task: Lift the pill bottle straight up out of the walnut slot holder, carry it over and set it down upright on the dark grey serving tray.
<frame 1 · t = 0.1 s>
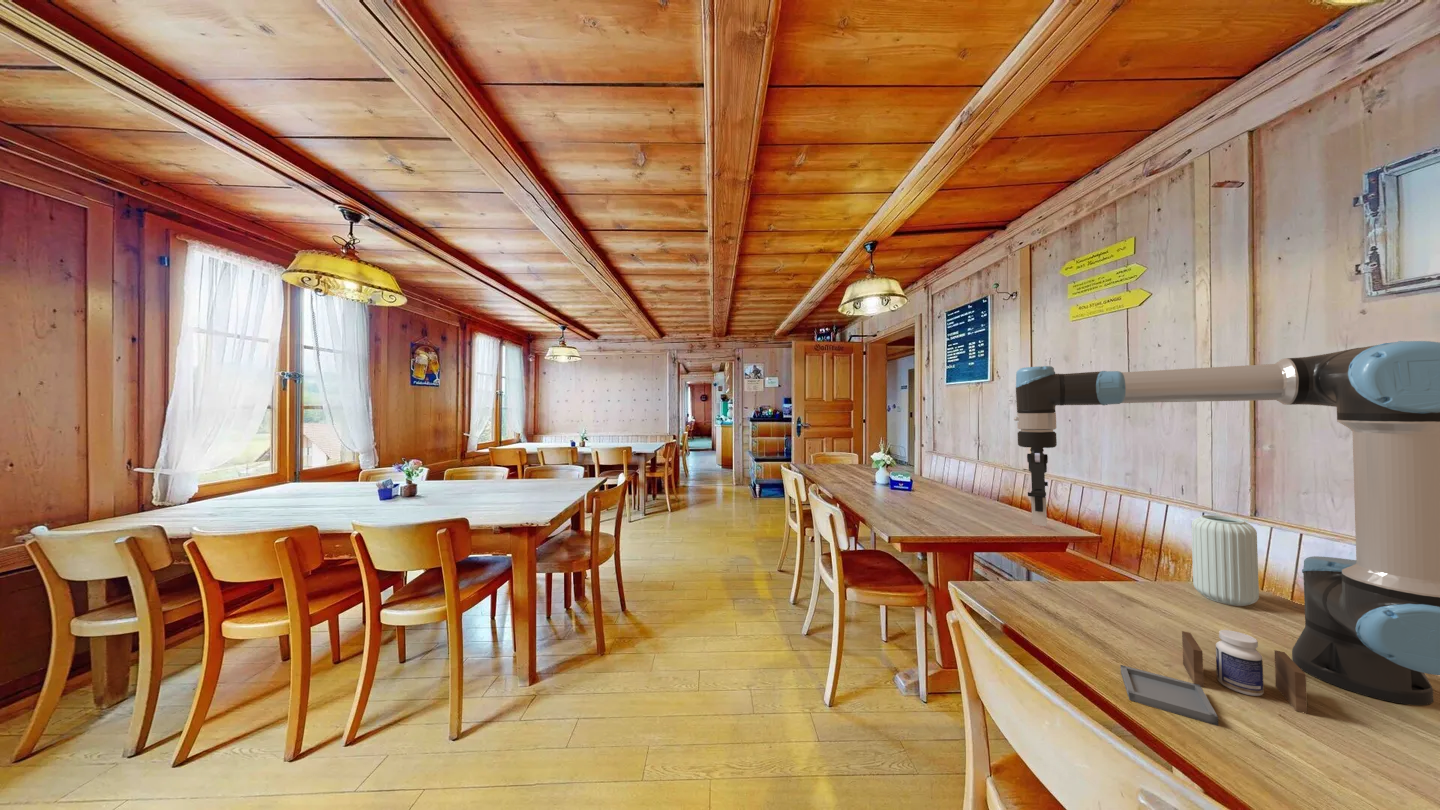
hand: (1039, 518, 101), 28 cm above the table, fingers open, 13 cm apart
tray: (1164, 696, 79), on the table
vase: (1225, 600, 115), on the table
pill bottle: (1239, 688, 81), on the table
slot holder: (1239, 686, 81), on the table
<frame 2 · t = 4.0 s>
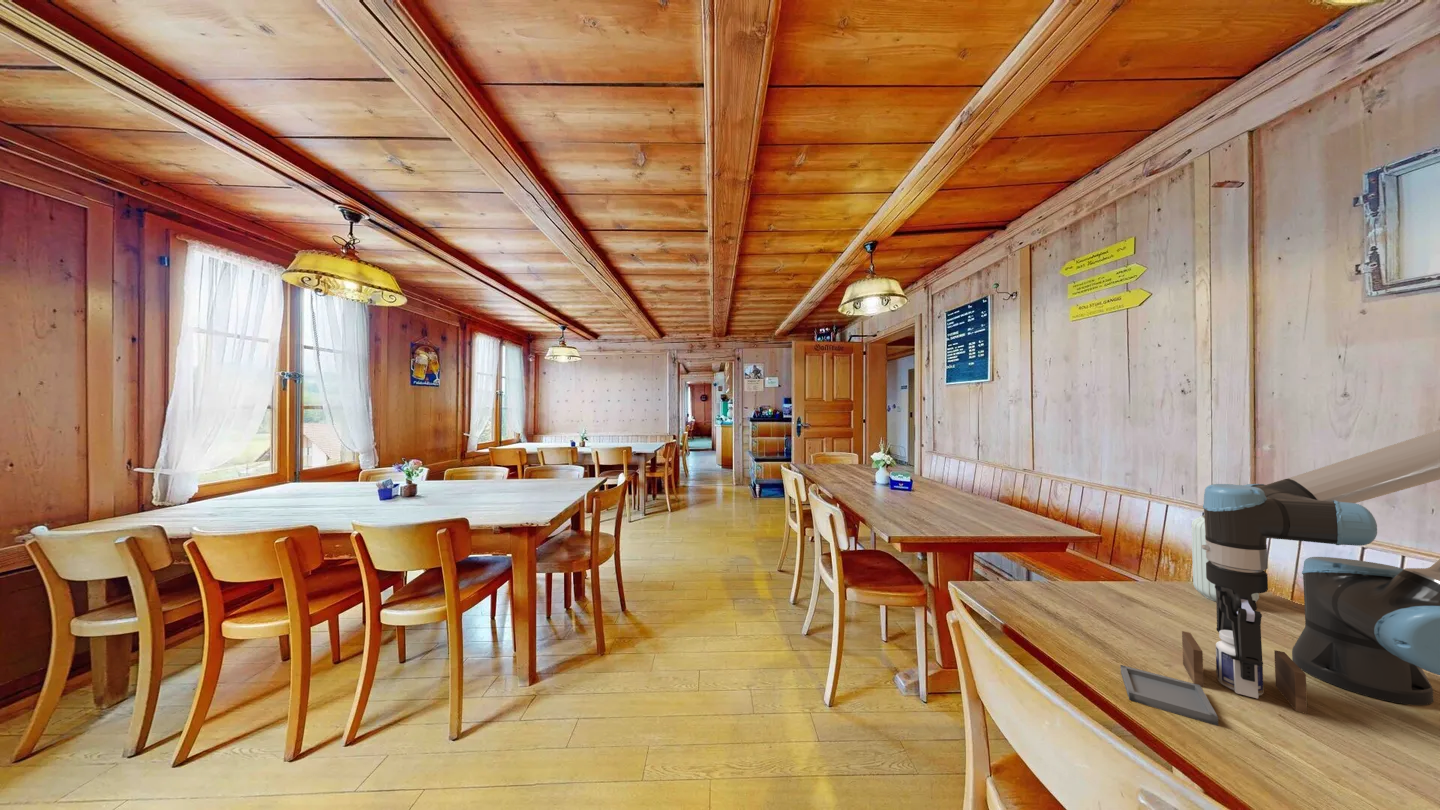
hand: (1239, 684, 81), 0 cm above the table, fingers closed on pill bottle, 6 cm apart
pill bottle: (1239, 687, 81), on the table, touching gripper
everything else where it was.
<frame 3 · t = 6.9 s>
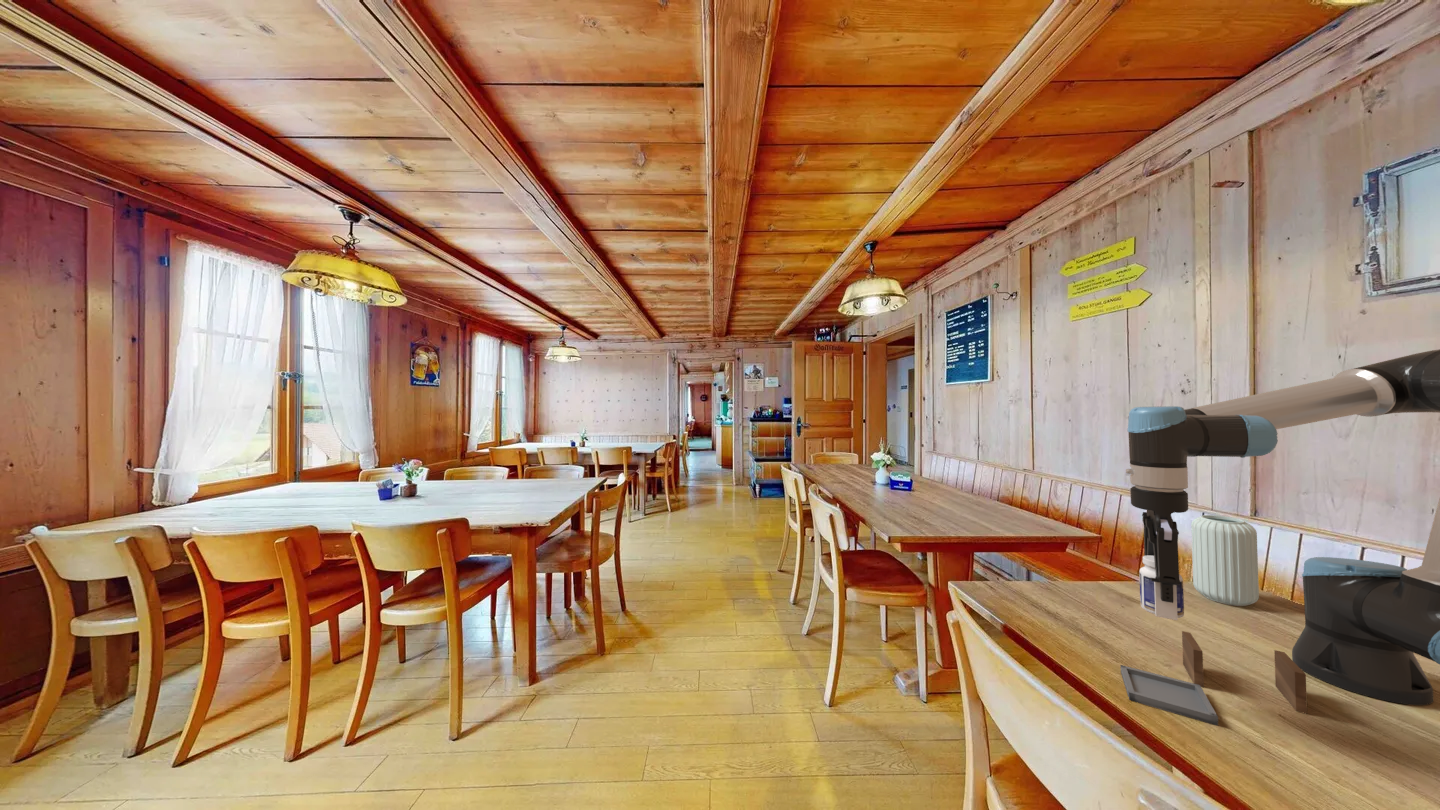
hand: (1162, 610, 79), 16 cm above the table, fingers closed on pill bottle, 6 cm apart
pill bottle: (1161, 612, 79), point 16 cm above the table, touching gripper
everything else where it was.
when the fingers open (2 cm above the table, at t = 9.7 s): pill bottle drops 1 cm, resting on tray.
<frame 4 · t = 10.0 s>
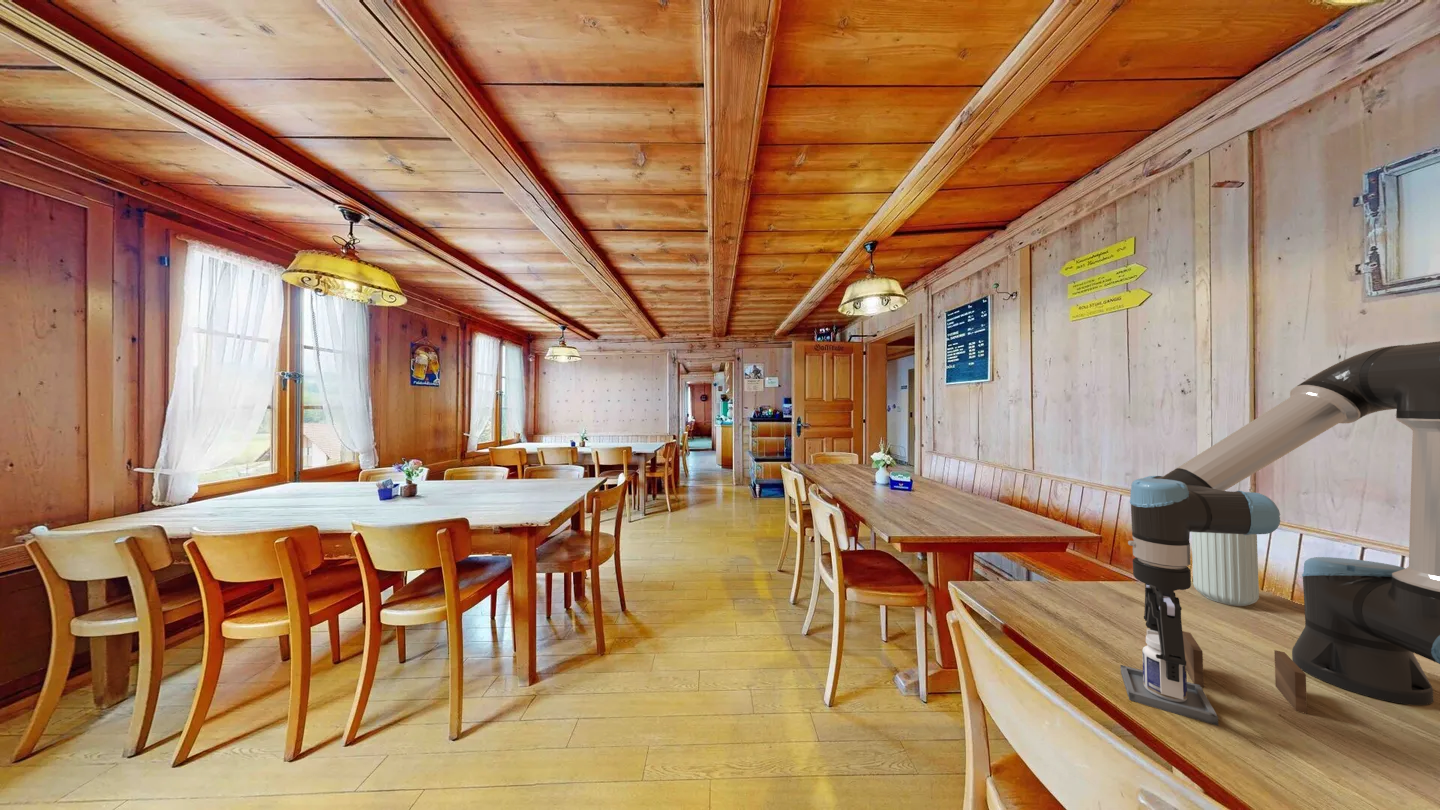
hand: (1164, 679, 79), 3 cm above the table, fingers open, 10 cm apart
pill bottle: (1164, 694, 79), resting on tray
everything else where it was.
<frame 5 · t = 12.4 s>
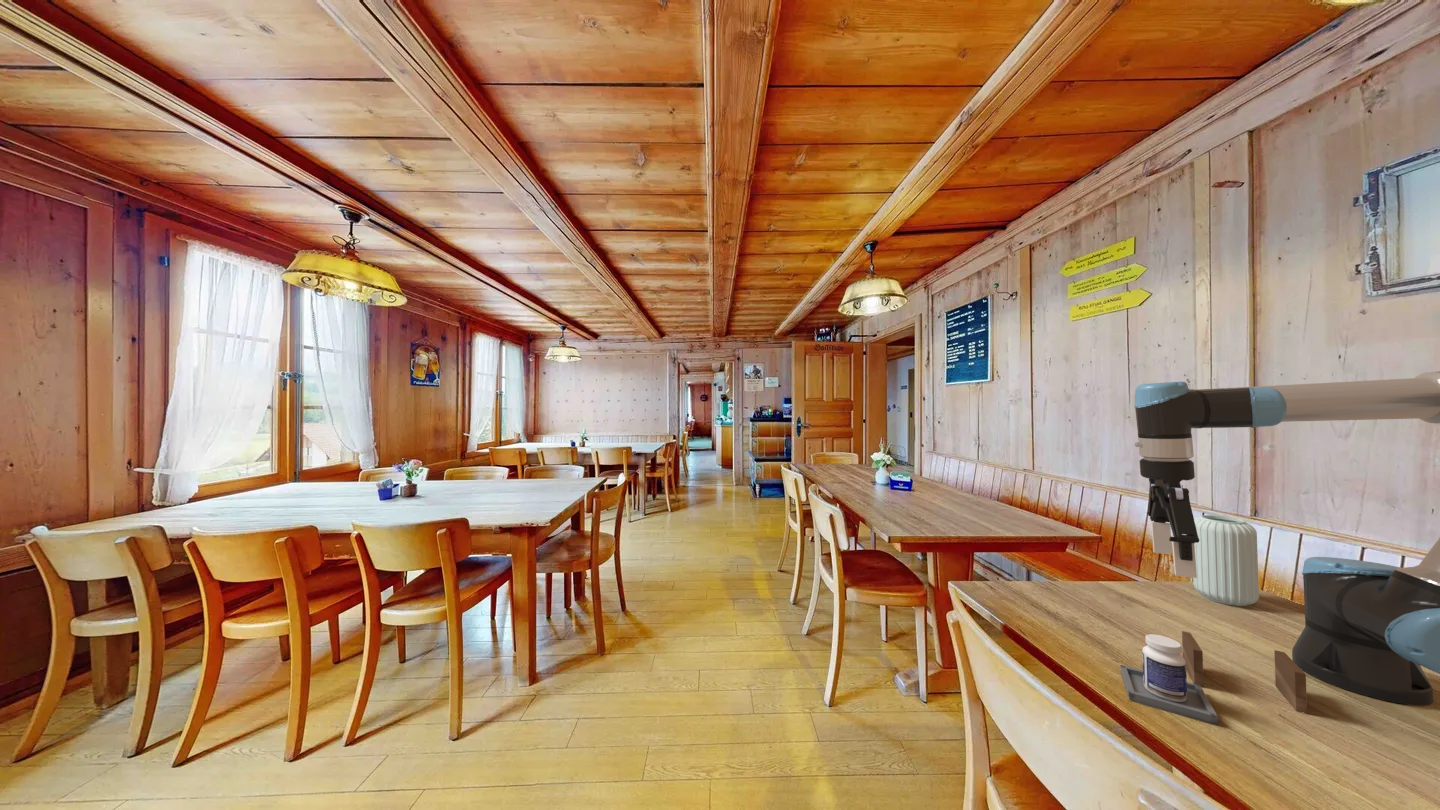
hand: (1173, 564, 84), 23 cm above the table, fingers open, 13 cm apart
nothing on the table moved.
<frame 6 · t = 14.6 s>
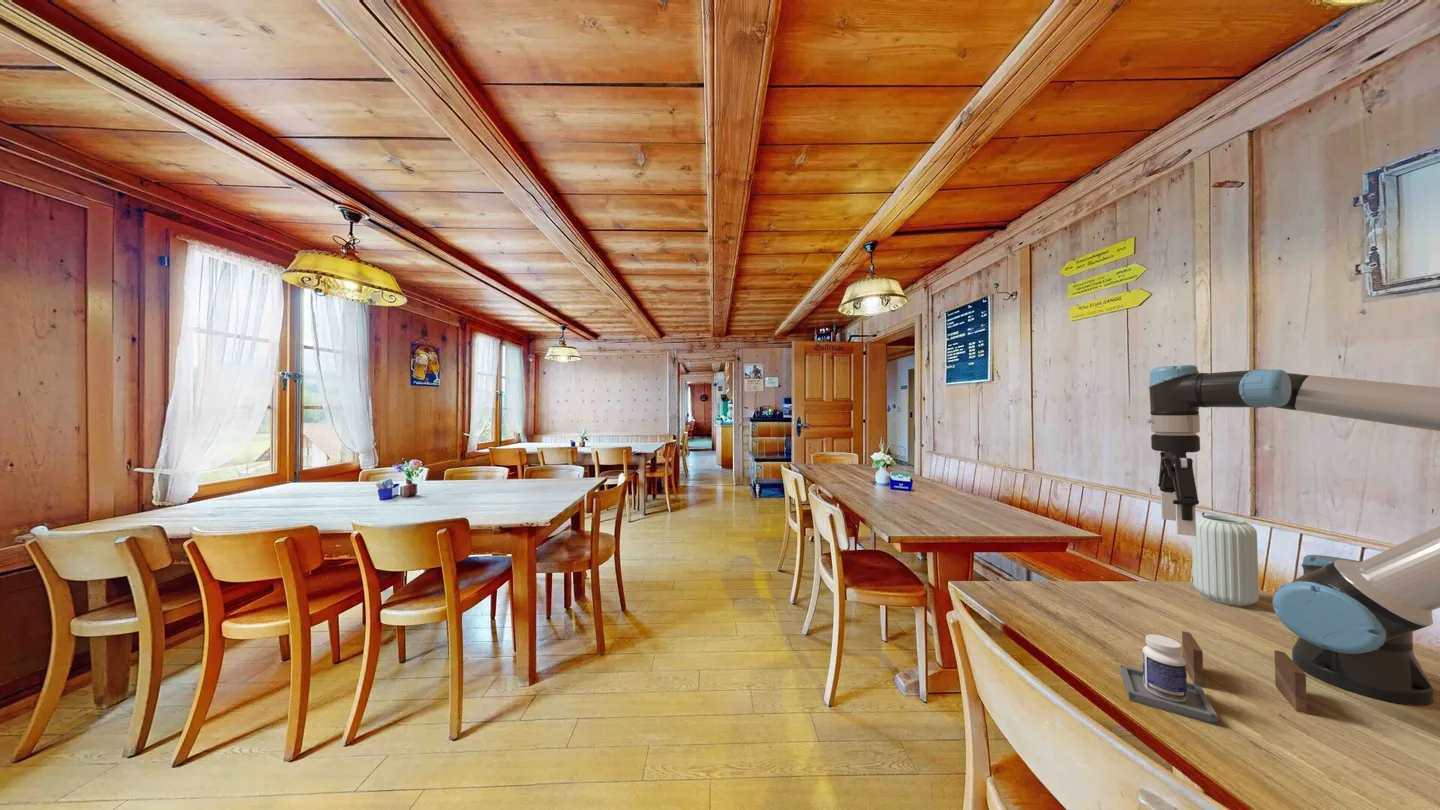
hand: (1177, 527, 95), 27 cm above the table, fingers open, 13 cm apart
nothing on the table moved.
at the end: pill bottle inside the target area on the tray (0.1 cm from its centre), point 0.4 cm above the tray's base; pill bottle tilted 0°; the gripper is holding nothing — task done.
